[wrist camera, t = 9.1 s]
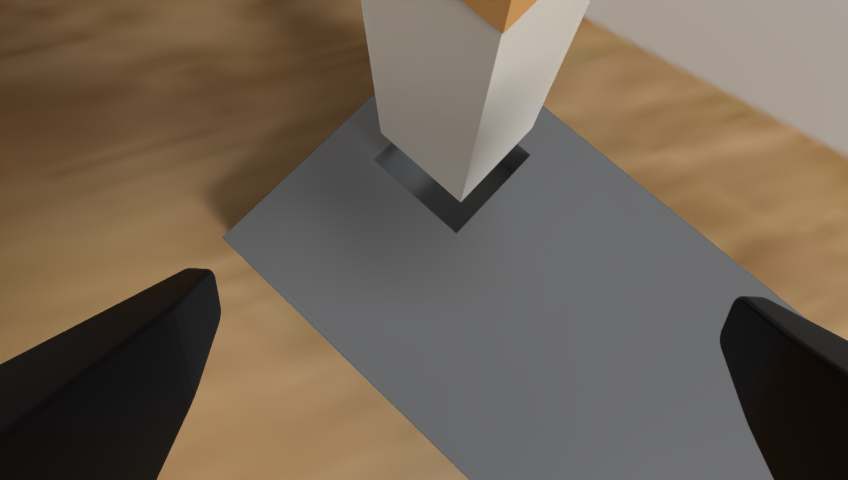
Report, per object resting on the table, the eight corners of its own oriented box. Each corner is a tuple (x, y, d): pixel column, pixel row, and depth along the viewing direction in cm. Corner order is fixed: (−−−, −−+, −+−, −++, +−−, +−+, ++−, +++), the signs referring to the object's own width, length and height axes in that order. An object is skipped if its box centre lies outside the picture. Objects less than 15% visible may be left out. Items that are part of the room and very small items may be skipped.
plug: (534, 128, 18) (696, -222, 8) (461, 204, 18) (526, -63, 7) (452, 61, 19) (498, -351, 8) (378, 132, 18) (322, -216, 7)
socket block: (813, 374, 22) (874, 374, 19) (629, 628, 19) (667, 673, 16) (442, 67, 25) (445, 26, 22) (247, 255, 22) (222, 237, 20)
